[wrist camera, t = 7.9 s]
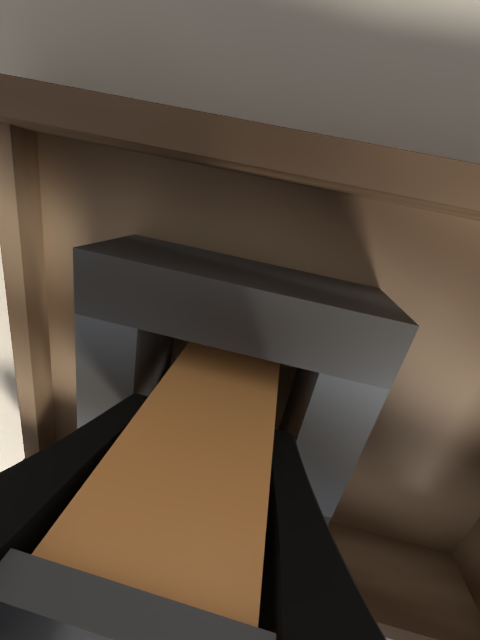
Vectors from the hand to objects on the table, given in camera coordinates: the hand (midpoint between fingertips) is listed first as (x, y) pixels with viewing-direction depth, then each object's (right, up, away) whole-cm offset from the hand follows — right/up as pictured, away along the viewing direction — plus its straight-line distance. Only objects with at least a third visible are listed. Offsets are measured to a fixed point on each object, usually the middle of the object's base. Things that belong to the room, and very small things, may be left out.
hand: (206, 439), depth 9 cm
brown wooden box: (+3, +1, +4) cm, 5 cm away
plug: (+1, +1, +3) cm, 3 cm away
